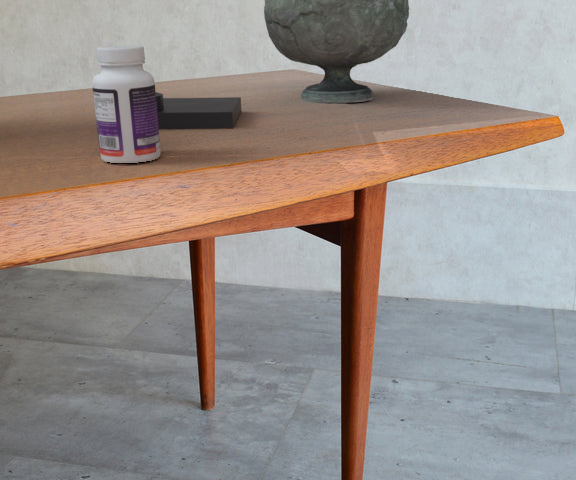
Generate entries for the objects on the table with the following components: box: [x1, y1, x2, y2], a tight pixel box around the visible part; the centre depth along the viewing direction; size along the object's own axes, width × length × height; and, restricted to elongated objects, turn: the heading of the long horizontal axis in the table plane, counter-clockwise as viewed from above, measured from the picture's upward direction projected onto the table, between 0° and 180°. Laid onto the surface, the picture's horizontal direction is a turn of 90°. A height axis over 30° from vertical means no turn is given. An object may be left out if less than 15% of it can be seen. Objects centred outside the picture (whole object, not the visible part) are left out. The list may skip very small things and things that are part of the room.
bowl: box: [263, 0, 410, 104], centre depth 100 cm, size 20×19×15 cm
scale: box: [155, 91, 242, 130], centre depth 85 cm, size 14×12×4 cm
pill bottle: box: [91, 45, 162, 164], centre depth 65 cm, size 5×5×10 cm
